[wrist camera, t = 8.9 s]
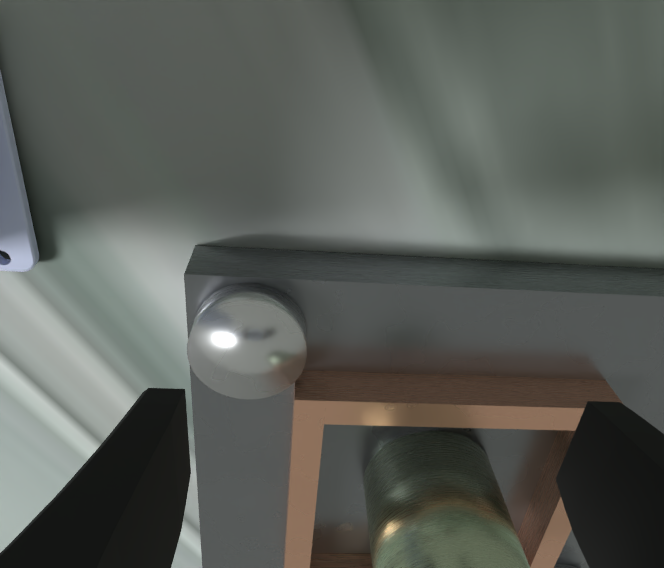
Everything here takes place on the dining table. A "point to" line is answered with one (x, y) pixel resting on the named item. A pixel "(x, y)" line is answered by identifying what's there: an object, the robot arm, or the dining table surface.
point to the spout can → (438, 506)
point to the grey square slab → (398, 386)
